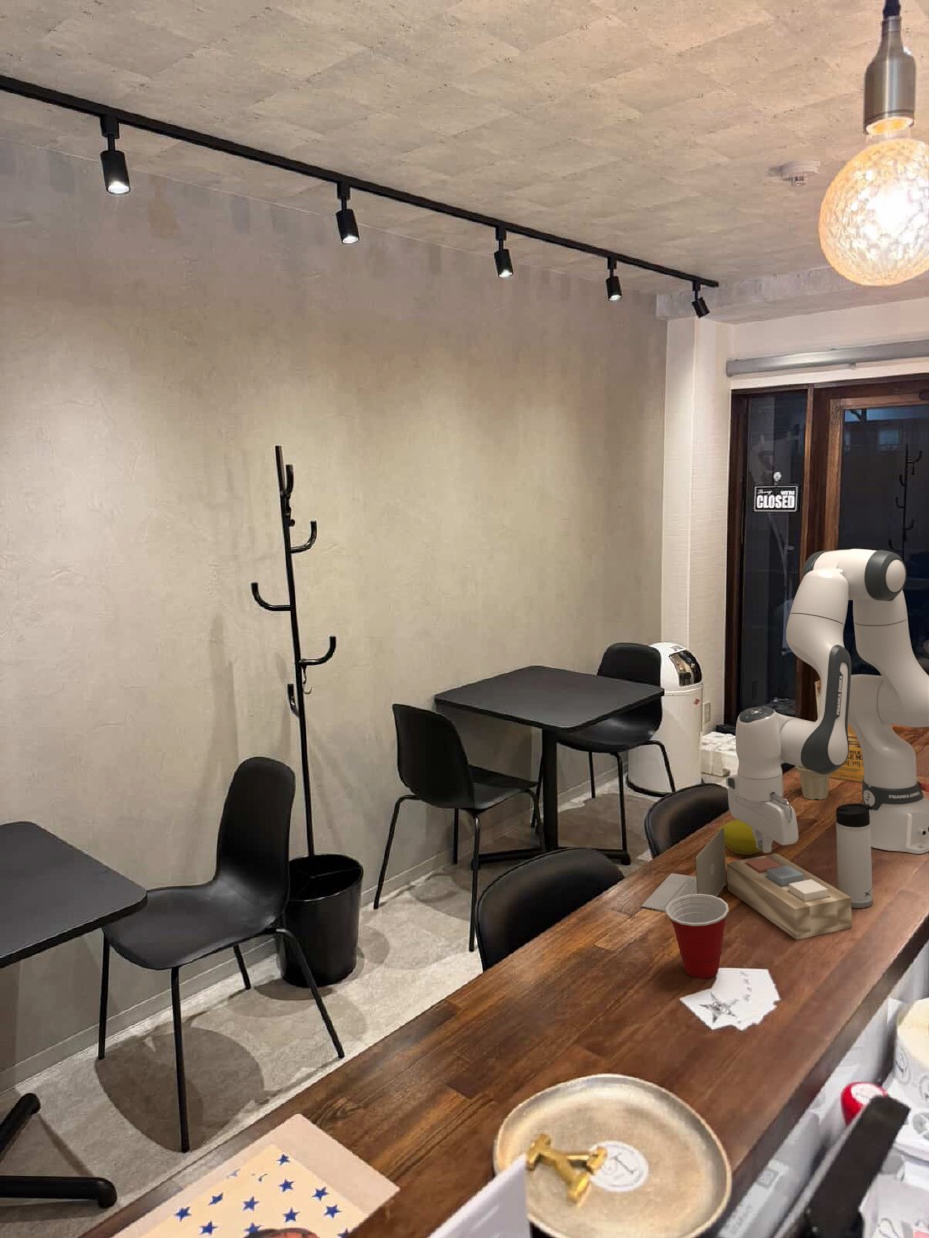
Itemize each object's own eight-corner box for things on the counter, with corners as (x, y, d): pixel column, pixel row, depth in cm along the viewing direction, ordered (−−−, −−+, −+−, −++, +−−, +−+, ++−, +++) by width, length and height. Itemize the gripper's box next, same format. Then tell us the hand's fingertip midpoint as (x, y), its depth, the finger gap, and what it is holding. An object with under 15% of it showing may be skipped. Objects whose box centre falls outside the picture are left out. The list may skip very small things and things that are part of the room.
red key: (768, 871, 187) (767, 857, 187) (781, 879, 182) (781, 865, 182) (747, 875, 186) (746, 861, 186) (760, 884, 181) (759, 870, 181)
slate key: (789, 879, 180) (788, 865, 179) (804, 888, 175) (803, 874, 175) (767, 883, 179) (766, 869, 178) (781, 893, 174) (781, 878, 173)
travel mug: (878, 908, 174) (875, 810, 171) (842, 908, 175) (838, 811, 173) (870, 895, 180) (867, 800, 177) (835, 894, 181) (832, 800, 179)
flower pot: (802, 789, 247) (801, 759, 246) (837, 793, 241) (836, 762, 240) (792, 799, 239) (791, 768, 238) (829, 804, 234) (827, 772, 233)
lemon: (773, 852, 205) (771, 819, 204) (757, 863, 200) (755, 829, 199) (730, 843, 213) (728, 811, 212) (713, 853, 207) (712, 821, 206)
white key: (811, 893, 173) (811, 879, 172) (828, 904, 168) (827, 889, 167) (789, 898, 171) (788, 883, 171) (805, 908, 167) (804, 893, 166)
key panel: (777, 879, 190) (776, 853, 190) (852, 927, 167) (851, 897, 166) (727, 889, 187) (726, 862, 187) (796, 939, 164) (795, 909, 164)
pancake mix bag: (822, 770, 262) (819, 677, 259) (889, 780, 248) (886, 682, 245) (812, 775, 258) (809, 681, 254) (880, 786, 244) (877, 687, 241)
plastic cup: (656, 965, 159) (652, 902, 158) (705, 949, 163) (702, 888, 162) (694, 993, 149) (691, 926, 148) (745, 975, 153) (742, 910, 152)
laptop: (671, 876, 197) (668, 819, 196) (727, 885, 191) (724, 827, 189) (640, 909, 183) (637, 848, 181) (700, 920, 176) (697, 857, 174)
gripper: (804, 798, 173) (808, 865, 174) (747, 770, 192) (750, 831, 194) (776, 804, 171) (780, 871, 173) (721, 775, 191) (725, 836, 193)
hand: (764, 850), depth 184 cm, fingers closed
